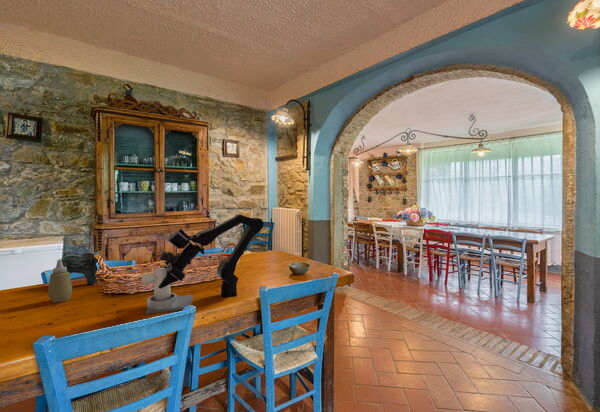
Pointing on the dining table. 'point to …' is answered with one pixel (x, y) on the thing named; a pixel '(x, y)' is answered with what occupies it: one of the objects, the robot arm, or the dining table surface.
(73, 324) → the dining table surface
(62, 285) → the squeeze bottle
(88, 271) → the spray gun
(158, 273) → the duct elbow
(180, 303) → the duct board
